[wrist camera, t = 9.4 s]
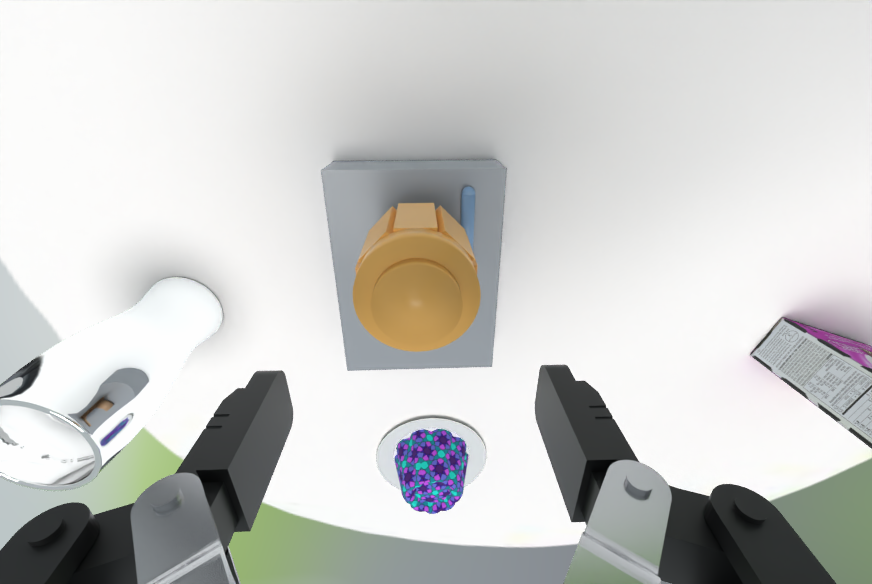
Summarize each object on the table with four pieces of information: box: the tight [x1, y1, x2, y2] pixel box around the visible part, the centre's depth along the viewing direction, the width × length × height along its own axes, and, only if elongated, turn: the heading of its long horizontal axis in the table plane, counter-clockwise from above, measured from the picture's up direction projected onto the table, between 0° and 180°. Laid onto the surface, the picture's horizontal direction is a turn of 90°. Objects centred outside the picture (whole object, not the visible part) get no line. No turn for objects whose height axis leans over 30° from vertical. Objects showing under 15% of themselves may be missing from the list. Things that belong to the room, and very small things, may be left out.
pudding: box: [376, 418, 486, 514], centre depth 41 cm, size 12×12×5 cm
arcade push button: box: [353, 203, 481, 352], centre depth 20 cm, size 6×6×7 cm
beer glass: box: [0, 277, 223, 491], centre depth 27 cm, size 7×7×15 cm
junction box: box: [321, 160, 507, 371], centre depth 30 cm, size 16×12×5 cm
